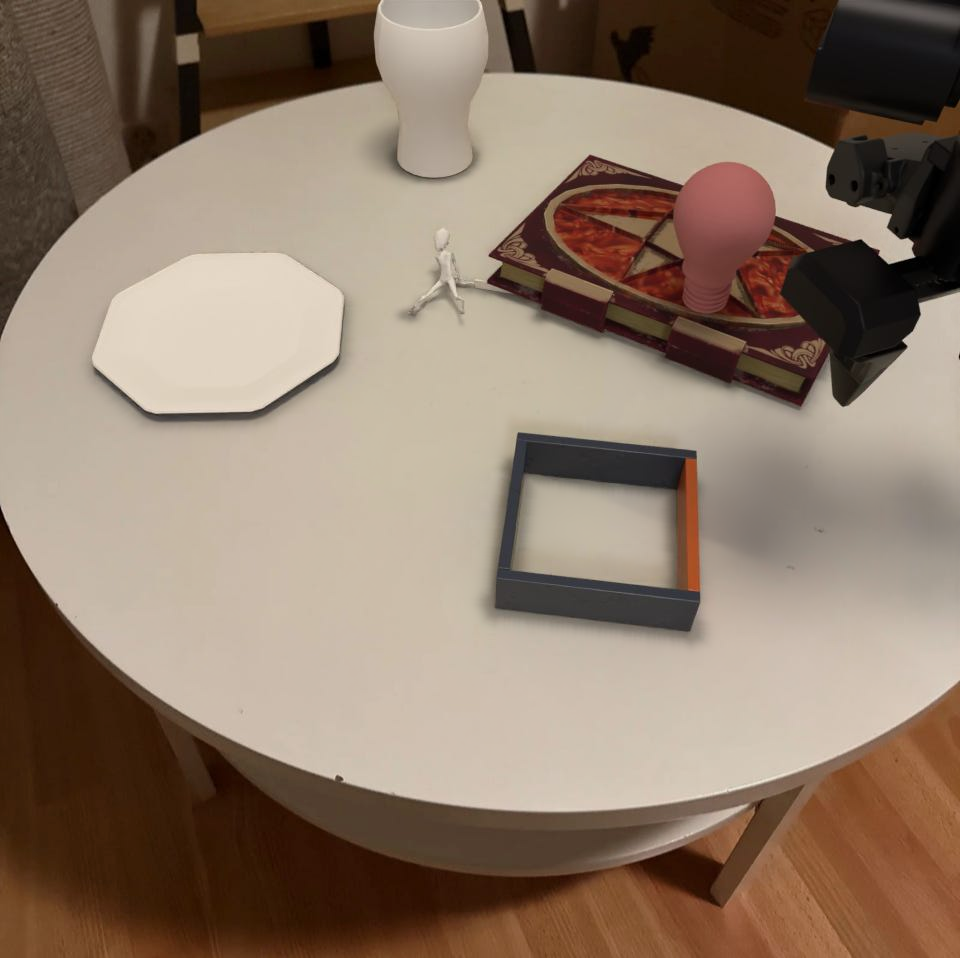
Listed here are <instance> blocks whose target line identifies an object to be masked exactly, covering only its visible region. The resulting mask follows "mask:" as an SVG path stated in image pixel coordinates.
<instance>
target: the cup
mask: <svg viewBox="0 0 960 958" xmlns="http://www.w3.org/2000/svg"><path fill="white" fill-rule="evenodd" d="M483 8H484V7H483V5H482V1H480V0H380V1H379V3H378V5H377V8H376V17H375V23H374V29H373V45H374V54H375V63H376V66H377V69H378V71H379V75H380V77H381V80H382V82H383V85H384V87H385V89H386V90H387V92H388V93H389V96H390V97H391V98H392V100H393V101H394V103H395V107H396V110H397V111H396V112H397V117H398V122H399V130H398V141H397V151H396V152H397V154H396V156H397V157H396V158H397V163H398V164H399V166H400V167H401V168H402V169H403V170H404V171H406V172H408V173H410V174H412V175H415V176H419V177H422V178H430V179H431V178H433V179H434V178H436V179H437V178H446V177H450V176H454V175H456V174H459V173H461V172H463V171H464V170H467V168H468V167H469V166H470V165H471V164H472V161H473V158H474V157H473V148H472V142H471V136H470V131H469V126H468V125H469V118H470V109H471V103H472V101H473V99H474V97H475V95H476V93H477V92H478V90H479V88H480V85H481V83H482V80H483V76H484V73H485V70H486V66H487V63H488V59H489V31H488V27H487V22H486V17H485V12H484V9H483Z"/></svg>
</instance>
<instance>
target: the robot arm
mask: <svg viewBox="0 0 960 958" xmlns="http://www.w3.org/2000/svg"><path fill="white" fill-rule="evenodd" d="M803 101H804V102H807V103H811V104H817V105H822V106H827V107H831V108H835V109H841V110H845V111H851V112H855V113H860V114H865V115H869V116H874V117H879V118H883V119H888V120H893V121H898V122H903V123H908V124H912V125H917V126H923V125H924V123H925V122H926V121H928V122H934V123H938V121H939V119H940V116H941V115H942V113H943V110H944V108H950V109H956V107H957V106H958V104H959V102H960V0H837V2H836V4H835V8H834V10H833V12H832V14H831V17H830V19H829V21H828V24H827V26H826V28H825V30H824V33H823V34H822V37H821V39H820V42H819V44H818V47H817V49H816V53H815V56H814V59H813V63H812V67H811V70H810V73H809V77H808V81H807V84H806V88H805V93H804V98H803ZM825 175H826V176H825V191H826V192H827V195H828V196H829V198H831V199H833V200H836V201H840V202H844V203H845V204H846V205H848V206H849V207H851V208H859V207H860V206H861V207H864V208H867V209H871V210H874V211H878V212H881V213H884V214H888V215H891V216H890V218H889V221H888V223H887V225H886V229H888V231H890V232H891V233H892V234H893V235H894V236H895V237H896V238H898V239H899V240H900V241H901V240H906V239H908V240H909V241H910V242H912V243H913V244H912V246H911V252H912V254H913V257H910V258H907V259H902V260H900V261H895V262H891V263H888V262H887V261H886V260H885V259H884V258H883V257H882V256H880V254H879V255H878V254H877V253H876V252H875V251H874V250H873V249H872V248H873V247H872V248H871V246H870V245H869V244H868V243H866V242H865V241H864V240H863V239H862V238H860V239H855V240H851V242H848V243H844V244H840V245H836V246H832V247H828V248H824V249H820V250H816V251H812V252H808V253H805V254H801V255H798V256H795V257H792V258H791V261H790V264H789V267H788V270H787V273H786V276H785V279H784V282H783V285H782V288H781V292H780V295H781V296H782V297H783V298H784V299H785V300H786V301H787V302H788V304H789V305H790V306H791V307H792V308H793V309H794V310H795V311H796V312H797V313H798V314H799V315H800V316H801V317H802V318H803V319H804V321H805V322H806V323H807V324H808V325H809V326H810V327H811V328H812V329H813V330H814V331H815V332H816V333H817V334H818V335H819V336H820V338H821V339H822V340H823V341H824V342H825V343H826V344H827V345H828V346H829V354H828V356H829V368H830V369H829V370H830V381H831V394H832V397H833V398H834V400H835V401H836V402H837V403H838V405H839V406H841V407H842V408H845V407H849V406H851V404H852V403H853V402H855V401H856V400H857V399H858V398H859V397H861V395H863V394H864V392H866V390H867V389H868V388H869V387H870V386H871V385H873V383H874V382H875V381H876V380H878V379H879V378H880V376H881V375H882V374H884V372H885V371H886V370H887V369H889V367H890V366H891V365H892V364H894V363H895V362H896V361H897V359H898V358H900V356H901V355H902V354H903V353H904V352H905V351H906V350H907V349H908V347H909V346H908V344H906V343H905V342H904V341H903V340H905V338H907V337H909V336H910V335H911V334H912V333H913V332H914V330H915V329H916V327H917V324H918V322H919V320H920V318H921V316H922V313H921V308H920V304H922V303H925V302H926V303H927V302H929V301H933V300H936V299H940V298H944V297H947V296H952V295H954V294H958V293H960V130H959V131H958V133H957V135H953V136H949V137H945V136H941V135H940V136H939V135H936V134H930V133H926V132H925V133H923V132H907V133H900V134H895V135H891V136H886V137H883V138H882V137H874V138H871V139H869V137H868V135H866V134H859V135H854V136H849V137H845V138H841V139H838V140H837V143H836V145H835V147H834V150H833V152H832V154H831V156H830V159H829V161H828V163H827V166H826V174H825ZM958 360H959V361H960V352H959V354H958Z"/></svg>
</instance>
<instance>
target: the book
mask: <svg viewBox="0 0 960 958" xmlns="http://www.w3.org/2000/svg"><path fill="white" fill-rule="evenodd" d="M683 186H684V184H681V183H678V182H675V181H672V180H668V179H665V178H663V177H660V176H657V175H654V174H651V173H648V172H644V171H642V170H638V169H636V168H633V167H629V166H626V165H623V164H620V163H618V162H614V161H612V160H608V159H605V158H602V157H599V156H597V155H593V154H589V155H588V156H587V157H585V158H584V160H583V161H581V163H579V165H578V166H577V167H575V168H574V169H573V170H572V171H571V172H570V173H569V174H568V175H567V176H566V177H565V178H564V179H563V180H562V181H561V182H560V183H559V184H558V185H557V186H556V187H555V188H554V189H553V190H552V191H551V192H550V193H549V194H548V195H547V196H546V197H545V198H544V199H543V200H542V201H541V202H540V203H539V204H538V205H537V206H536V207H535V208H534V209H533V210H532V211H531V212H530V213H528V215H527V216H526V217H525V218H524V219H523V220H522V221H520V223H519V224H518V225H517V226H515V228H514V229H513V230H511V232H509V233H508V235H507V236H505V238H504V239H503V240H501V242H499V243H498V245H496V246H495V248H493V250H491V251H490V252H489V253H488V256H487V257H488V258H490V259H493V260H496V261H499V262H501V265H500V266H499V267H498V268H497V269H496V270H495V271H494V272H493V273H492V275H490V277H488V279H486V281H487V283H488V284H490V285H493V286H495V287H498V288H500V289H503V290H505V291H508V292H510V293H509V294H511V293H513V294H512V295H516V296H518V297H520V298H523V299H526V300H528V301H531V302H533V303H536V304H539V305H541V310H542V311H545V312H547V313H550V314H552V315H555V316H557V317H560V318H563V319H565V320H568V321H570V322H573V323H575V324H578V325H580V326H583V327H586V328H588V329H591V330H592V331H596V332H598V333H601V334H604V332H605V331H607V332H610V333H611V334H612V333H613V334H615V335H618V336H620V337H623V338H626V339H628V340H630V341H633V342H636V343H638V344H640V345H643V346H646V347H648V348H651V349H653V350H655V351H659V352H660V353H663V354H664V359H666V360H669V361H672V362H674V363H677V364H679V365H681V366H684V367H687V368H689V369H691V370H694V371H697V372H700V373H702V374H705V375H707V376H710V377H712V378H715V379H717V380H720V381H723V382H725V383H727V384H732V382H733V381H735V382H737V383H739V384H743V385H745V386H747V387H750V388H753V389H755V390H758V391H760V392H762V393H765V394H768V395H771V396H773V397H776V398H778V399H781V400H783V401H784V402H785V401H786V402H789V403H791V404H793V405H796V406H799V407H802V406H803V404H804V403H805V401H806V399H807V397H808V395H809V393H810V391H811V389H812V388H813V385H814V383H815V381H816V379H817V378H818V375H819V373H820V371H821V370H822V368H823V367H824V366H823V365H824V364H825V362H826V361H827V358H828V356H829V346H828V345H827V344H826V343H825V342H824V341H823V340H822V339H821V338H820V336H819V335H818V334H817V333H816V332H815V331H814V330H813V329H812V328H811V327H810V326H809V325H808V324H807V323H806V322H805V321H804V319H803V318H802V317H801V316H800V315H799V314H798V313H797V312H796V311H795V310H794V309H793V308H792V307H791V306H790V305H789V304H788V302H787V301H786V300H785V299H784V298H783V297H782V296H781V295H780V292H781V288H782V285H783V282H784V279H785V276H786V273H787V270H788V267H789V264H790V261H791V258H792V257H795V256H798V255H801V254H805V253H808V252H812V251H816V250H820V249H824V248H828V247H832V246H836V245H840V244H844V243H848V242H851V241H852V240H850V239H848V238H845V237H842V236H839V235H835V234H833V233H830V232H826V231H824V230H820V229H817V228H814V227H811V226H809V225H805V224H802V223H799V222H796V221H793V220H789V219H787V218H784V217H782V216H778V215H775V221H774V225H773V228H772V230H771V233H770V235H769V237H768V239H767V240H766V241H765V243H764V244H763V246H762V247H761V248H760V249H759V250H758V251H757V252H756V253H755V254H754V255H753V256H752V257H751V258H750V259H749V260H748V261H746V262H745V263H744V264H743V265H742V266H740V267H739V268H738V269H737V270H736V276H735V278H734V279H733V281H732V287H731V292H730V294H729V298H728V299H727V303H726V305H725V307H724V308H722V309H721V310H719V311H717V312H713V313H700V312H696V311H694V310H692V309H690V308H689V307H687V306H686V305H685V303H684V301H683V297H682V296H683V292H684V282H685V277H686V276H685V275H684V273H683V269H682V265H683V261H684V256H683V253H682V251H681V248H680V246H679V243H678V239H677V236H676V232H675V228H674V220H673V213H674V206H675V202H676V199H677V197H678V194H679V192H680V191H681V189H682V187H683ZM870 247H871V246H870ZM871 248H872V249H873V250H874V251H875V252H876V253H877V254H878V255H879V256H880V252H881V250H880V249H878V248H875V247H871Z"/></svg>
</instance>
